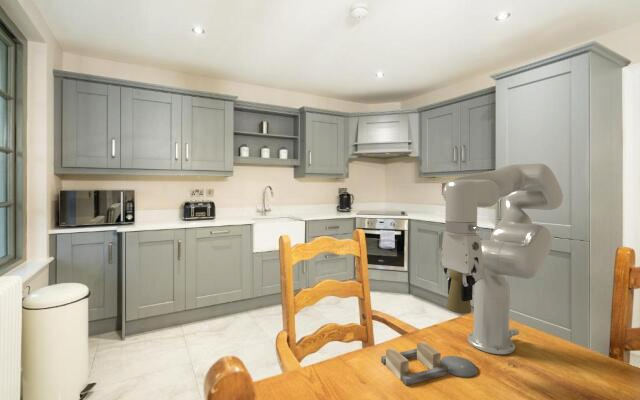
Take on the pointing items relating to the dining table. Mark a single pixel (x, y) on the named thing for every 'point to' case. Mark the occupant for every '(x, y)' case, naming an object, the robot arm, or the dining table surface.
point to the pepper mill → (457, 295)
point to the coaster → (459, 366)
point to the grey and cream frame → (423, 353)
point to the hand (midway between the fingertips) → (459, 296)
